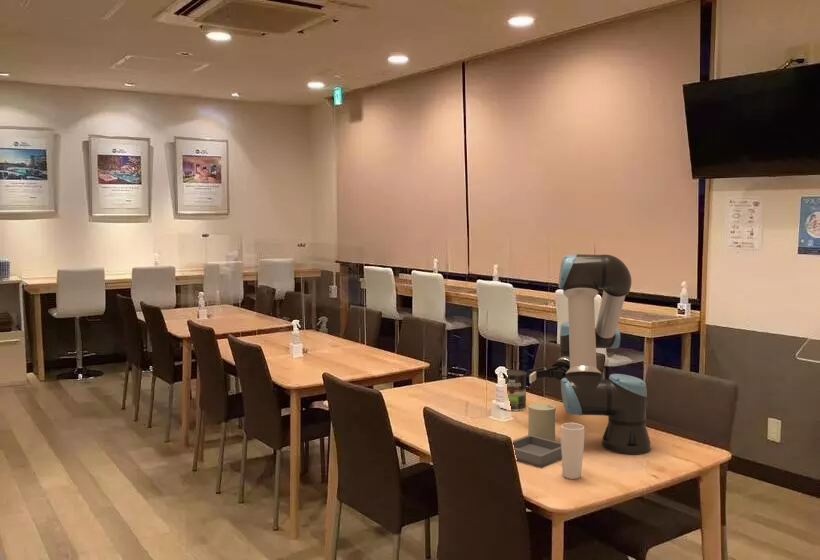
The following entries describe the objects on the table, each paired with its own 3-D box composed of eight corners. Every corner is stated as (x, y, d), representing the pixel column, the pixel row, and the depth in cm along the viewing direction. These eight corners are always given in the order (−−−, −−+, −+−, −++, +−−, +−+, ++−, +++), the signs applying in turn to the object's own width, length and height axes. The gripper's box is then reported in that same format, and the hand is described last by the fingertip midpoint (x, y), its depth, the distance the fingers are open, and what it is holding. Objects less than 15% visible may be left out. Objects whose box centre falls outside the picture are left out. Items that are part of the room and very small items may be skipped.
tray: (569, 455, 232) (569, 445, 231) (540, 467, 221) (540, 456, 221) (529, 444, 242) (529, 434, 242) (500, 455, 232) (500, 445, 231)
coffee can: (525, 412, 281) (525, 375, 280) (498, 410, 283) (498, 374, 282) (527, 405, 291) (527, 370, 290) (501, 403, 293) (501, 368, 292)
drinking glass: (580, 472, 217) (581, 422, 216) (586, 480, 211) (587, 429, 209) (557, 472, 217) (558, 422, 216) (562, 480, 210) (563, 429, 209)
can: (555, 444, 242) (556, 409, 241) (527, 443, 244) (527, 407, 243) (555, 436, 251) (556, 401, 250) (528, 434, 253) (528, 400, 252)
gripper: (597, 381, 269) (585, 395, 250) (530, 375, 279) (514, 388, 260) (598, 361, 268) (586, 373, 249) (530, 355, 279) (514, 367, 259)
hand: (549, 381), depth 255 cm, fingers open, 13 cm apart
